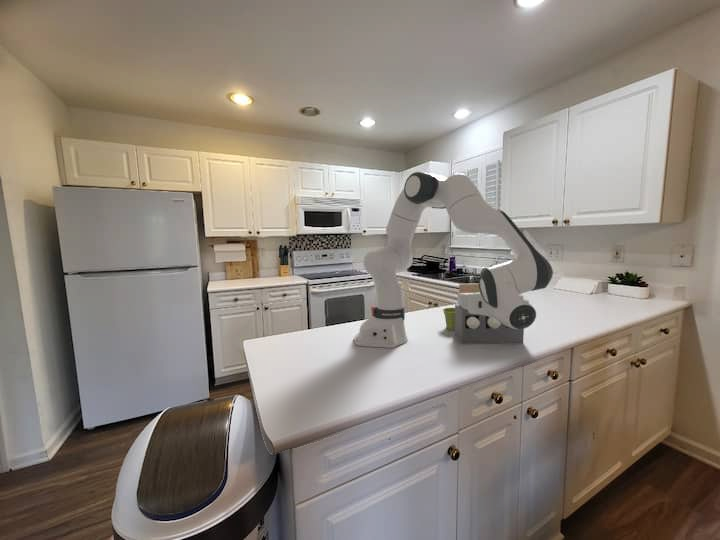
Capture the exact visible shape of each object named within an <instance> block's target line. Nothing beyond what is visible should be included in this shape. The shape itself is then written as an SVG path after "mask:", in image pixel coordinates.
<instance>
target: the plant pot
mask: <svg viewBox="0 0 720 540" xmlns="http://www.w3.org/2000/svg"><path fill="white" fill-rule="evenodd" d="M442 312H443V314H444V319H445V325H446V329H448V330H450V331H451V330H452V331H455V307H446V308H443V309H442Z"/></svg>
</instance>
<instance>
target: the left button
mask: <svg viewBox="0 0 720 540" xmlns="http://www.w3.org/2000/svg"><path fill="white" fill-rule="evenodd" d="M465 322H466V324H467V325H468V326H469V327H470V328H471V329H476V328H478V327H479V325H480V322H479V320H478V319H477V318H476V317H474V316H468V317H467V318H466V320H465Z"/></svg>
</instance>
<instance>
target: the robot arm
mask: <svg viewBox="0 0 720 540" xmlns="http://www.w3.org/2000/svg"><path fill="white" fill-rule="evenodd" d="M427 208H431V209H442V210H444V209H446V212H447V213H448V216H449V218H450V220H451V222H452V224H453V225H454V226H455V228H457V230H459V231H461V232H464V233H468V234H490V235H494V236H495V235H496V236H498V237H499V238H501V239H502V240H503V241H504V243H505V244H506V245H507V246H508V248H509V249H510V250H511V251H512V253H513V254H514V255H515V257H516V258H514V259H512V260H508V261H506V262H502V263H498V264H495V265H492V266H489V267H486V268H484V269H483V270H482V272H481V274H480V276H479V279H478V283H479V289H480V292H477V293H459V292H458V293H457V296H456V297H457V299H456V300H457V304H459V305H460V306H461V307H463V308H464V309H467V310H469V313H471V314H477V315H485V316H489V317H493V318H495V319H497V320H498V321H499V322H500V323H502V324H504V325H505V326H507V327H509V328H512V329H518V330H520V329H524V330H525V329H527V328H529V327H530V326H531V325H532V324H533V323H534V322H535V321H536V318H537V312H536V309H535V307H534V306H533V305H532V304H531V303H530V301H529V299H525V298H524V295H523V294H525V293H528V292H531V291H532V292H534V291H537V290H542V289H546V288H547V286H548V285H549V284H550V283H551V281H552V278H553V275H554V271H553V267H552V265H551V263H550V262H549V260H548V259H547V258H546V257H544V256H543V254H541V253H540V252H539V251H538V250H537V249H536V248H535V247H534V245H533V244H532V243H531V241H529V240H528V238H527V236H525V234H524V233H523V232H522V231H521V229H520V228H519V227H518V226H517V225H516V224H515V223H514V221H513V220H512V219H511V218H510V216H509V215H508V214H507V213H506V212H505V211H503V210H500V209H497V208H495V207H493V206H491V205H490V204H488V202H486V200H485V199H484V197H483V195H482V194H481V192H480V190H479V189H478V187H477V185H475V183H474V181H472V179H471V178H470V177H469V176H468V175H467V174H464V173H455V174H452V175H450V176H448V177H445V176H443V175H439V174H435V173H428V172H426V171H416V172H412V173H411V174H410V175H409V176H408V177H407V178H406V180H405V182H404V185H403V189H402V190H401V192H400V193H399V195H398V197H397V199H396V201H395V203H394V205H393V208H392V211H391V214H390V217H389V219H388V223H387V225H386V228H385V231H386V232H385V233H386V235H387V237H388V238H387V239H388V243H387V245H386V247H380V248H375V249H372V250H370V251H369V252H367V253H366V254H365V256H364V258H363V267H364V270H365V271H366V273H367V274H369V276H371V278H372V280H373V283H374V286H375V287H374V288H375V294H376V295H375V296H376V306H375V305H372V306H371V307H370V310H371V316H370V317H369V318H367V319H366V320H364V322H362V324H361V325H360V326H359V331H358V333H356V334H355V335H354V336H353V337H354V338H353V340H354V341H353V342H354V344H355V345H356V346H359V347H370V348H371V347H373V348H387V349H388V348H389V349H395V348H396V347H398V346H400V345H403V344H405V343H407V342H408V340H409V339H408V336H407V332H406V326H405V316H406V315H405V313H406V311H405V307H404V290H403V289H404V288H403V287H402V285H400V284H399V282H398V278H397V274H398V273H402V272H404V271H406V270H408V269H409V268H410V267H411V266H412V265H413V260H414V259H413V258H414V257H413V254H412V243H413V238H414V236H415V233H416V230H417V227H418V225H419V222H420V219H421V217H422V214H423V212H424V210H425V209H427Z"/></svg>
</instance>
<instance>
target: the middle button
mask: <svg viewBox="0 0 720 540" xmlns="http://www.w3.org/2000/svg"><path fill="white" fill-rule="evenodd" d="M486 323H487V325H489V326H490V327H491V328H493V329H497V328H499V327H500V325H501V323H500V322H499V321H498V320H497V319H495V318H493V317H489V316H488V317H487V318H486Z"/></svg>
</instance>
